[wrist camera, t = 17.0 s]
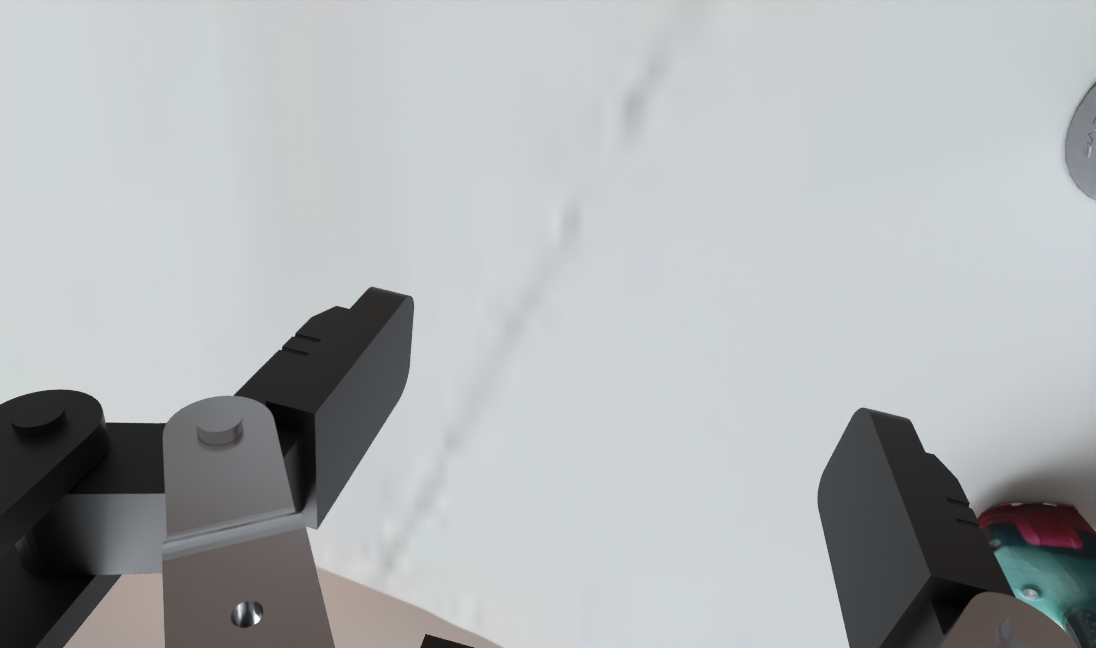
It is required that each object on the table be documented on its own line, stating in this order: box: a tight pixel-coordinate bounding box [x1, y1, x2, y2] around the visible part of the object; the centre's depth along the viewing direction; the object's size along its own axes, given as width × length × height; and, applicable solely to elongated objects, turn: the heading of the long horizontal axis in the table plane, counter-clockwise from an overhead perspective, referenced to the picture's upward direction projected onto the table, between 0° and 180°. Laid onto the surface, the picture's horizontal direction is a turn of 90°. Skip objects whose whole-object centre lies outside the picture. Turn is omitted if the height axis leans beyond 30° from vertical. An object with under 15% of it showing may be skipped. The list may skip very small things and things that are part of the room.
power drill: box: [977, 502, 1096, 648], centre depth 43 cm, size 7×16×20 cm, turn 91°
